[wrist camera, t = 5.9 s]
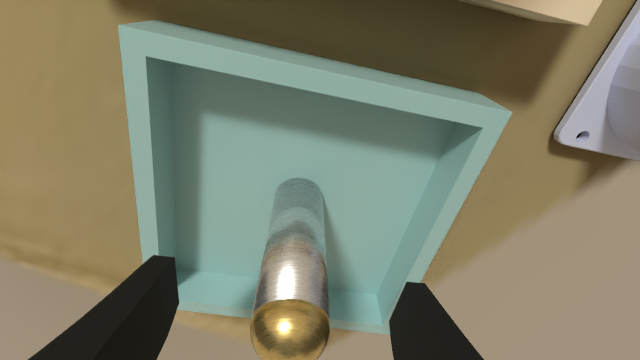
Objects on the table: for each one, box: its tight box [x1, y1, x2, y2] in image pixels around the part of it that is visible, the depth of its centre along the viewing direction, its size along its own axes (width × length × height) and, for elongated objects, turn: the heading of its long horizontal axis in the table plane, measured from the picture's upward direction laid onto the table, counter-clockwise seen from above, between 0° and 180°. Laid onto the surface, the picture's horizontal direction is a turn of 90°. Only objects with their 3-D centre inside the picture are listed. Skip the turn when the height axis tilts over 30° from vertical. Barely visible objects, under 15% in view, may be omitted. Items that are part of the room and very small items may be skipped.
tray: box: [118, 20, 512, 335], centre depth 14 cm, size 12×12×2 cm
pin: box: [250, 178, 330, 360], centre depth 11 cm, size 2×2×8 cm
